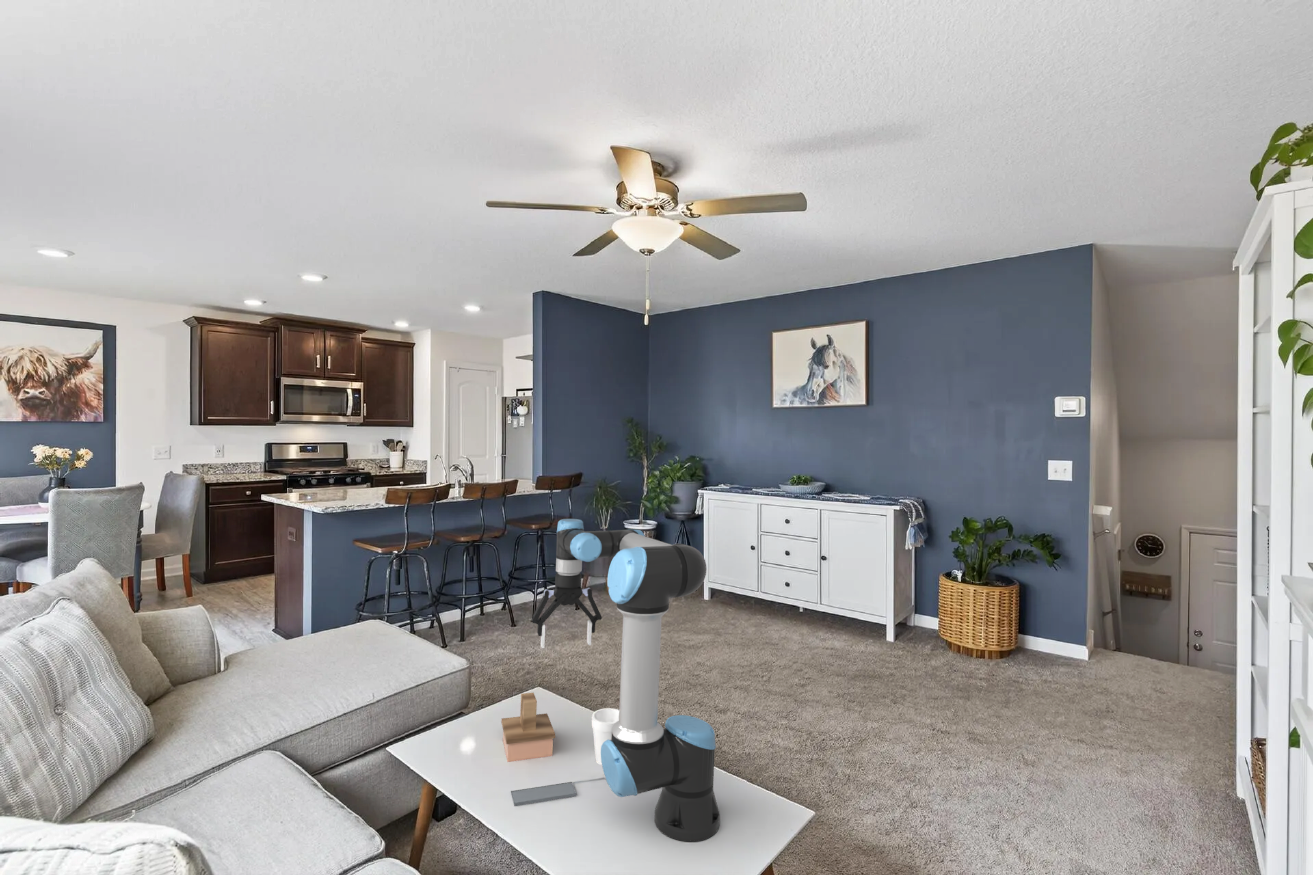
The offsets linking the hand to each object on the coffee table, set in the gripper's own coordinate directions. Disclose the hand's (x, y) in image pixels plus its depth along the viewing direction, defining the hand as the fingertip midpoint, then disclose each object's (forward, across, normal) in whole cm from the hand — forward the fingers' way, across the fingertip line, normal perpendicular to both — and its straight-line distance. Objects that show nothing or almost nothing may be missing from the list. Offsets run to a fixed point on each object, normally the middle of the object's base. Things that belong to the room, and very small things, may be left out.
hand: (565, 645), depth 184 cm
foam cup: (+28, -10, +16) cm, 33 cm away
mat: (+27, +9, +21) cm, 36 cm away
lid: (+21, +11, +5) cm, 24 cm away
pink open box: (+27, +11, +5) cm, 30 cm away
